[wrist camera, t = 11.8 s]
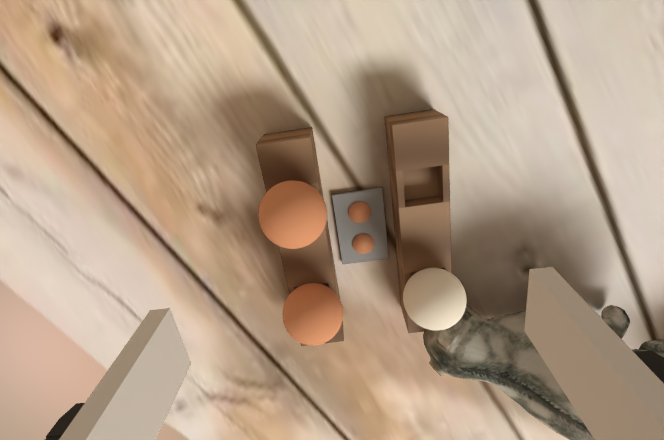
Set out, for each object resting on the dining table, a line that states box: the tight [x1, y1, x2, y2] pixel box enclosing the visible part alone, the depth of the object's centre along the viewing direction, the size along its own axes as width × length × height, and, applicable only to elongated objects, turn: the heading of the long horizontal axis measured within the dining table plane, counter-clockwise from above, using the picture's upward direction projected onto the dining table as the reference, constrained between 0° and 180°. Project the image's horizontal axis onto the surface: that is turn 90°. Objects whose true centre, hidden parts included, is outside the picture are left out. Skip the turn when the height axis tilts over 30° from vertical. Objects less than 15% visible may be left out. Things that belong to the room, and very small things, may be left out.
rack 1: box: [256, 127, 344, 346], centre depth 34 cm, size 19×4×4 cm, turn 8°
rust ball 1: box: [258, 180, 327, 249], centre depth 28 cm, size 5×5×5 cm
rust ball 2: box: [283, 283, 343, 345], centre depth 32 cm, size 5×5×5 cm
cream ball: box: [403, 268, 467, 330], centre depth 31 cm, size 5×5×5 cm
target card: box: [332, 187, 389, 264], centre depth 35 cm, size 7×4×1 cm, turn 8°
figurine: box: [423, 305, 664, 440], centre depth 33 cm, size 10×19×20 cm
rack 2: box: [385, 109, 451, 333], centre depth 33 cm, size 19×4×4 cm, turn 8°
